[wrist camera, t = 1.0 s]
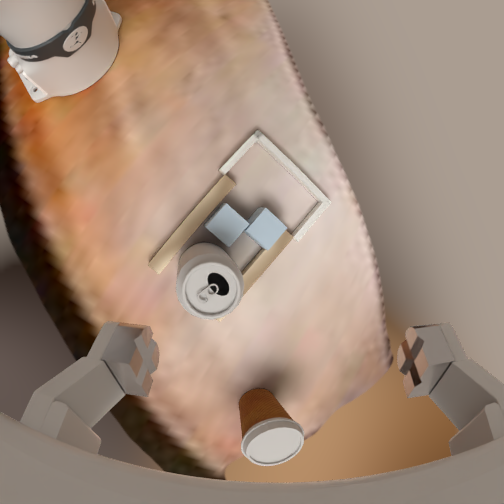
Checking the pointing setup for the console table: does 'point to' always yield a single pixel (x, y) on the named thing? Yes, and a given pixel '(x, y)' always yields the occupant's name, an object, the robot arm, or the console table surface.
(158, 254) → the slot rails
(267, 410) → the disposable coffee cup
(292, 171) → the white u-shaped frame
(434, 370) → the robot arm
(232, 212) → the light blue boxy piece
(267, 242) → the light blue cubic block
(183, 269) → the can
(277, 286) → the console table surface
